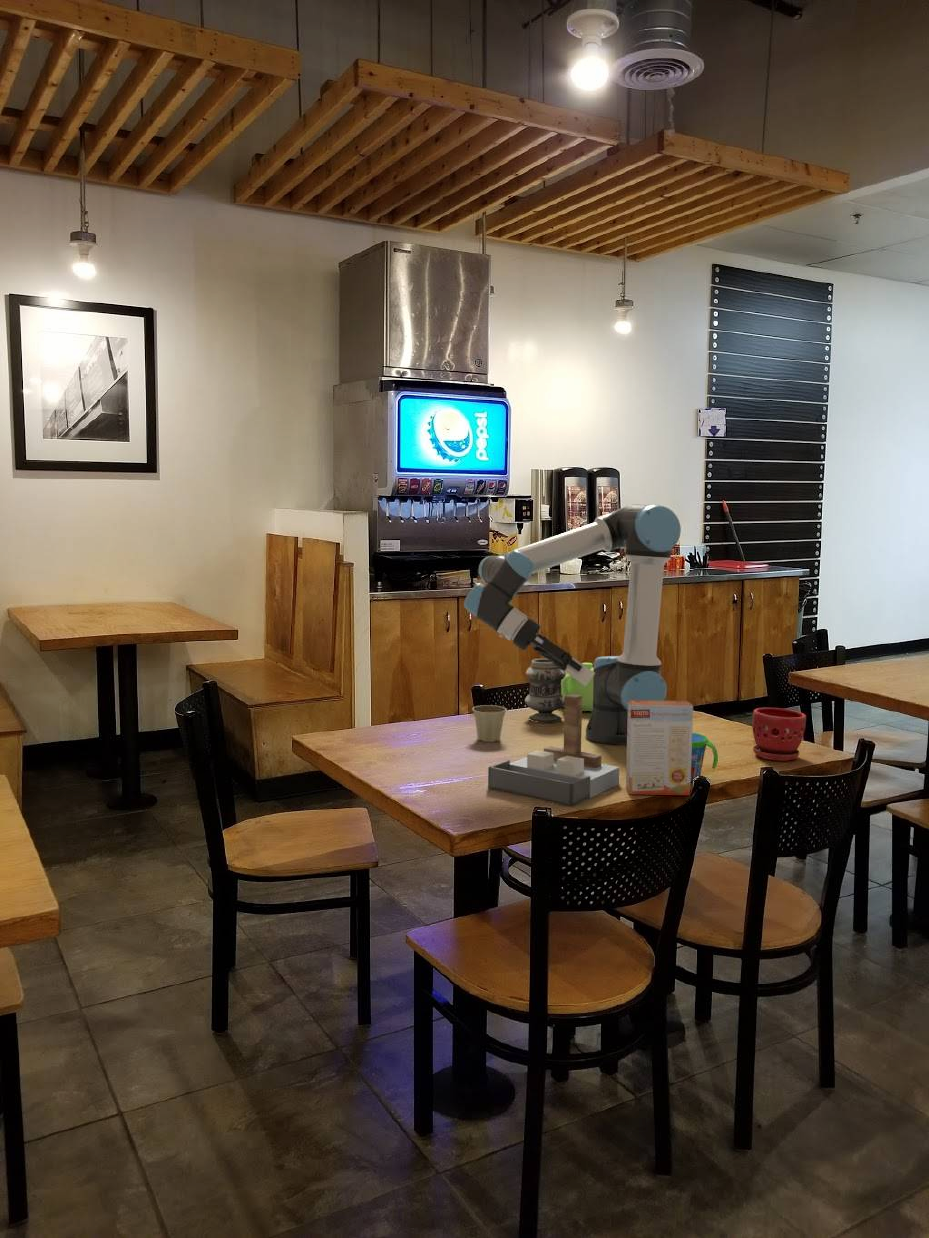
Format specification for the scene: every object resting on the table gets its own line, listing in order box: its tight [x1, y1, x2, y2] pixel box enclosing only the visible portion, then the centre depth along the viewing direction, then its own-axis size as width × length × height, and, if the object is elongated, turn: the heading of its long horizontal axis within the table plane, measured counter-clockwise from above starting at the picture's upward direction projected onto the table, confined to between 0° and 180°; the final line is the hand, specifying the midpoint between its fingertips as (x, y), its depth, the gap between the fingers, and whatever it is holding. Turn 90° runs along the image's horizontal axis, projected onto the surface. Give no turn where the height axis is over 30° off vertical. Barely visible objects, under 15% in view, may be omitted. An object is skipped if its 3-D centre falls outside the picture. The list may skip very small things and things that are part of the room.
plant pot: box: [751, 707, 807, 762], centre depth 260 cm, size 13×13×12 cm
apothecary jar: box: [524, 658, 566, 723], centre depth 300 cm, size 12×12×18 cm
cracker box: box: [625, 700, 694, 796], centre depth 227 cm, size 14×6×21 cm, turn 88°
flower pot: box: [471, 704, 508, 743], centre depth 275 cm, size 9×9×9 cm
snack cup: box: [691, 732, 719, 782], centre depth 239 cm, size 16×10×10 cm
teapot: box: [561, 662, 594, 712], centre depth 318 cm, size 19×20×14 cm
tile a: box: [526, 750, 554, 770], centre depth 234 cm, size 4×4×3 cm
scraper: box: [543, 694, 602, 768], centre depth 237 cm, size 3×14×16 cm, turn 54°
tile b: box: [557, 756, 584, 776], centre depth 229 cm, size 4×4×3 cm
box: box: [487, 759, 590, 807], centre depth 226 cm, size 8×22×5 cm, turn 54°
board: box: [510, 756, 620, 799], centre depth 235 cm, size 14×22×4 cm, turn 54°
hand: (590, 680), depth 246 cm, fingers open, 13 cm apart
